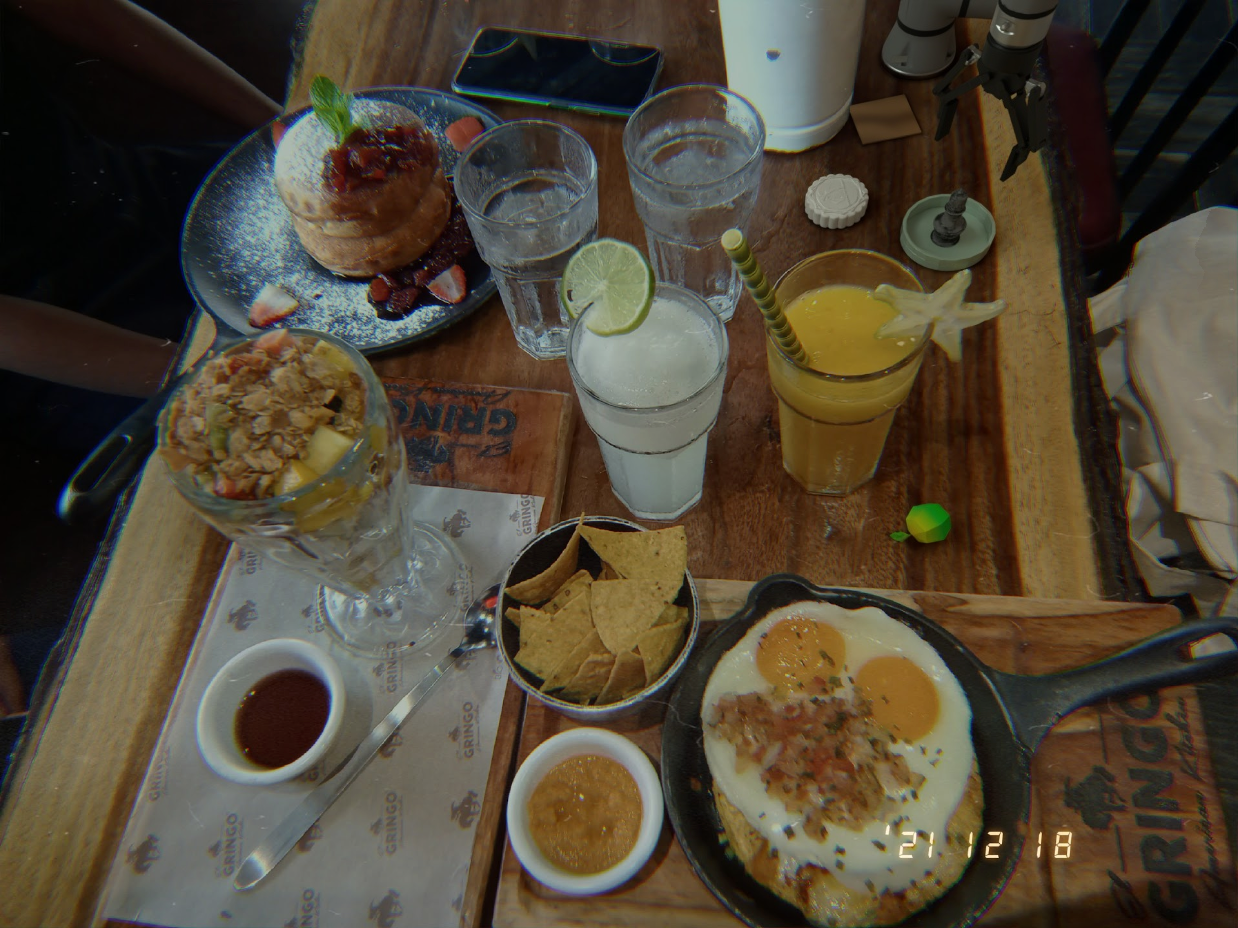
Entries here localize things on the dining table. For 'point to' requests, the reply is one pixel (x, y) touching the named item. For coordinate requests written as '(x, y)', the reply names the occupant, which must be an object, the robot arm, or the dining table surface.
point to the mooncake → (836, 201)
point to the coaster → (884, 119)
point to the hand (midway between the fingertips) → (973, 156)
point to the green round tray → (949, 258)
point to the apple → (926, 524)
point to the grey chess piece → (950, 220)
